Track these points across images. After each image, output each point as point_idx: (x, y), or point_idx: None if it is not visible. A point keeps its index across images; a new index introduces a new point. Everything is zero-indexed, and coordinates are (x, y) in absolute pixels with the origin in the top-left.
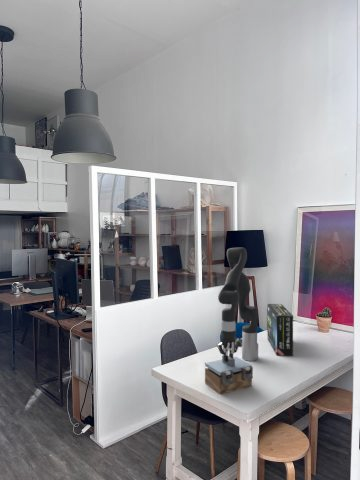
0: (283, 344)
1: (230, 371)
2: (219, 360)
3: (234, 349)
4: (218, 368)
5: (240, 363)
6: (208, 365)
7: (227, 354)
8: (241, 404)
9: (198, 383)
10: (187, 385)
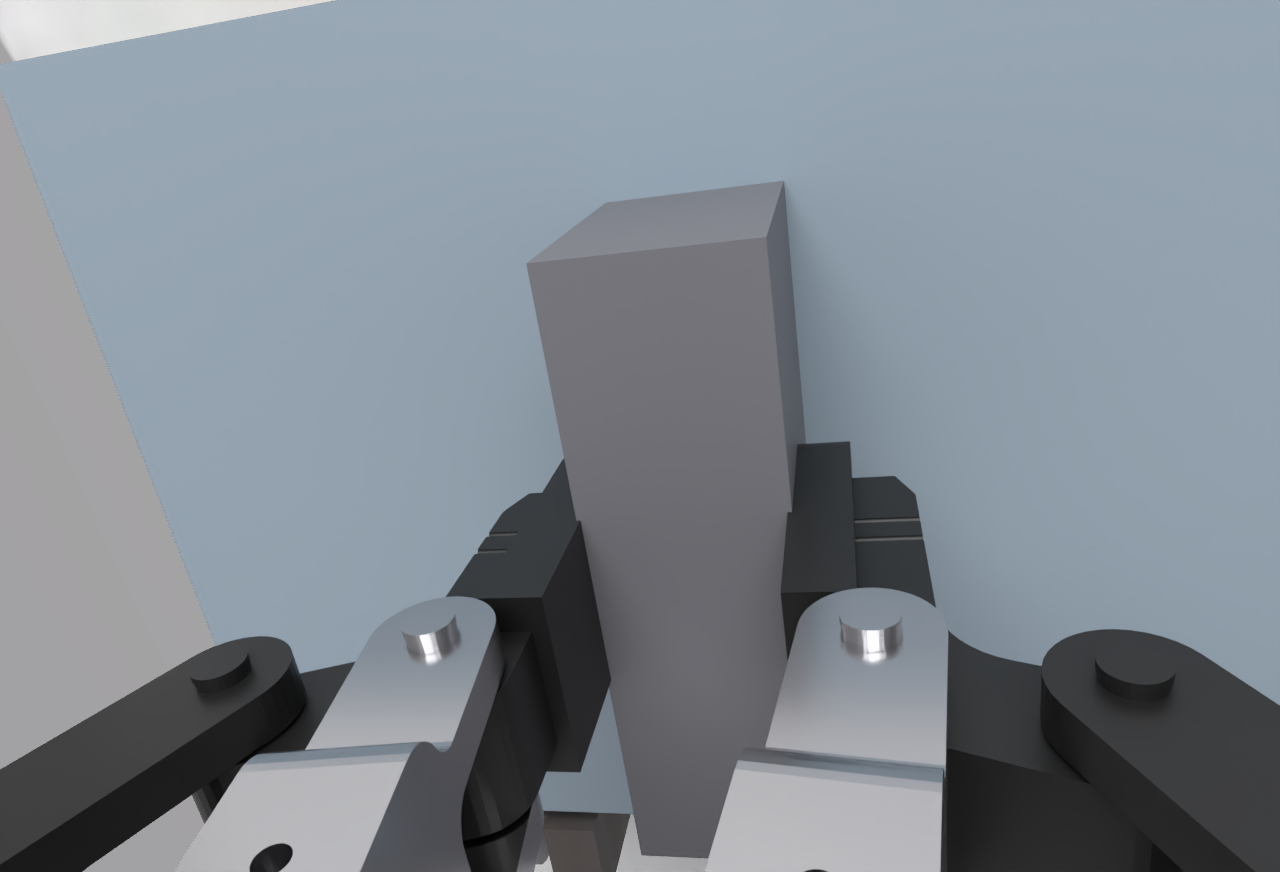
0: None
1: (552, 839)
2: (564, 7)
3: (1253, 764)
4: (305, 615)
5: (1169, 582)
6: (87, 284)
7: (537, 824)
8: (631, 857)
9: (218, 10)
10: (8, 28)
